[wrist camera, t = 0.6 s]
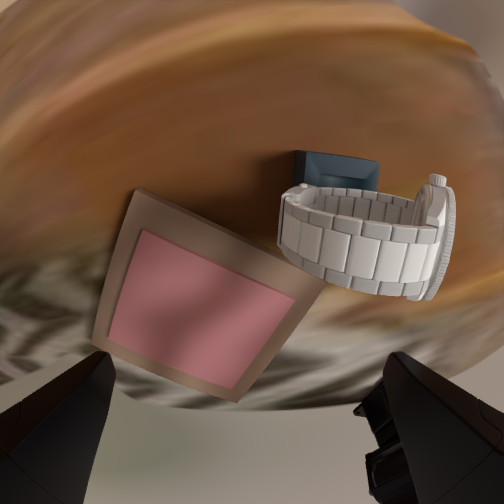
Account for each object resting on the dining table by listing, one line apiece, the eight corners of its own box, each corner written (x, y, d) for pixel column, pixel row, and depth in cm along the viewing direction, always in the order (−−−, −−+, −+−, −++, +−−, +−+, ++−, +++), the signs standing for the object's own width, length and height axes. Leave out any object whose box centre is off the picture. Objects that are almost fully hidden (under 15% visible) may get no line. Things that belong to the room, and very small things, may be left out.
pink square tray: (323, 276, 20) (328, 285, 19) (237, 395, 25) (237, 406, 24) (140, 187, 18) (132, 191, 16) (94, 336, 22) (88, 346, 21)
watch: (373, 239, 20) (467, 326, 9) (261, 232, 19) (283, 339, 9) (385, 161, 18) (506, 195, 7) (267, 146, 17) (306, 153, 7)
